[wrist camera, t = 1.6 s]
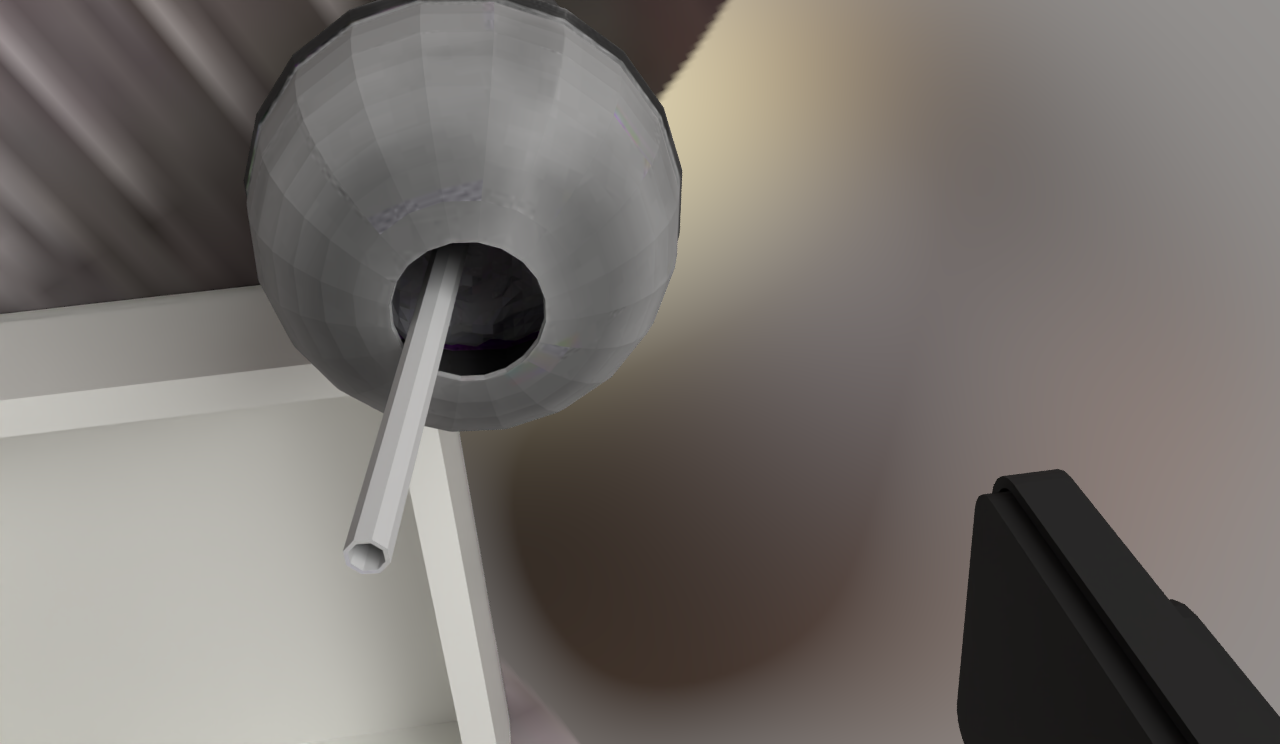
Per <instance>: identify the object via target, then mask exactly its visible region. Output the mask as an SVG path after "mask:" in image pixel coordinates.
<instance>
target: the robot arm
mask: <svg viewBox="0 0 1280 744" xmlns="http://www.w3.org/2000/svg"><path fill="white" fill-rule="evenodd" d="M957 715H958V723H959V728H960V732H961V735H962V739H963V741H964V744H1280V717H1279V716H1278V714H1277V713H1276V712H1275V711H1274V709H1273V708H1272V707H1271V706H1270V705H1269V703H1268V702H1267V701H1266V700H1265V699H1264V697H1263V696H1262V695H1261V694H1260V692H1259V691H1258V690H1257V689H1256V687H1255V686H1254V685H1253V684H1252V683H1251V681H1250V680H1249V679H1248V678H1247V676H1246V675H1245V674H1244V673H1243V671H1242V670H1241V669H1240V668H1239V667H1238V666H1237V664H1236V663H1235V662H1234V661H1233V659H1232V658H1231V657H1230V656H1229V654H1228V653H1227V652H1226V651H1225V649H1224V648H1223V647H1222V646H1221V645H1220V643H1219V642H1218V641H1217V640H1216V638H1215V637H1214V636H1213V635H1212V634H1211V632H1210V631H1209V630H1208V629H1207V627H1206V626H1205V625H1204V624H1203V623H1202V621H1201V620H1200V619H1199V618H1198V616H1196V615H1195V614H1194V613H1193V612H1192V611H1191V610H1190V609H1189V608H1188V607H1187V606H1186V605H1185V604H1182V603H1180V602H1178V601H1175V600H1173V599H1171V600H1169V599H1168V598H1167V597H1166V595H1164V593H1163V592H1162V590H1161V589H1160V588H1159V587H1158V585H1157V584H1156V583H1155V582H1154V580H1153V579H1152V578H1151V577H1150V575H1149V574H1148V573H1147V572H1146V570H1145V569H1144V568H1143V567H1142V565H1141V564H1140V563H1139V562H1138V560H1137V559H1136V558H1135V557H1134V556H1133V554H1132V553H1131V552H1130V550H1129V549H1128V548H1127V547H1126V545H1125V544H1124V543H1123V542H1122V540H1121V539H1120V538H1119V537H1118V536H1117V534H1116V533H1115V532H1114V530H1113V529H1112V528H1111V527H1110V525H1109V524H1108V523H1107V522H1106V520H1105V519H1104V518H1103V517H1102V515H1101V514H1100V513H1099V512H1098V510H1097V509H1096V508H1095V507H1094V505H1093V504H1092V503H1091V502H1090V500H1089V499H1088V498H1087V497H1086V496H1085V494H1084V493H1083V492H1082V490H1081V489H1080V488H1079V487H1078V485H1077V484H1076V483H1075V482H1074V480H1073V479H1072V478H1071V477H1070V476H1069V475H1068V474H1067V473H1066V472H1065V471H1062V470H1059V469H1055V470H1048V471H1039V472H1031V473H1024V474H1016V475H1008V476H1002V477H1000V478H998V479H997V481H996V482H995V484H994V486H993V492H992V494H983V495H981V496H979V497H978V499H977V501H976V506H975V515H974V524H973V536H972V546H971V558H970V568H969V579H968V590H967V601H966V612H965V623H964V633H963V644H962V656H961V666H960V677H959V688H958V699H957Z"/></svg>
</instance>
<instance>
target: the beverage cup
mask: <svg viewBox="0 0 1280 744" xmlns="http://www.w3.org/2000/svg"><path fill="white" fill-rule="evenodd" d="M244 184H245V190H246V197H247V210H248V217H249V224H250V230H251V236H252V243H253V249H254V255H255V262H256V268H257V274H258V280H259V283H260V285H261V287H262V289H263V290H264V292H265V294H266V296H267V298H268V300H269V302H270V304H271V305H272V307H273V309H274V311H275V313H276V315H277V317H278V319H279V320H280V322H281V324H282V326H283V328H284V330H285V332H286V334H287V335H288V337H289V339H290V340H291V342H292V344H293V345H294V347H295V348H296V349H297V350H298V351H299V352H300V353H301V354H302V355H303V356H304V357H305V358H306V359H307V360H308V361H309V362H310V363H311V364H312V365H314V366H315V367H316V368H317V369H318V370H319V371H320V372H321V373H322V374H323V375H324V376H325V377H326V378H327V379H328V380H329V381H330V382H331V383H332V384H333V385H334V386H335V387H336V388H337V389H339V390H340V391H342V392H344V393H346V394H348V395H350V396H351V397H353V398H355V399H357V400H359V401H361V402H363V403H365V404H367V405H369V406H370V407H372V408H374V409H376V410H378V411H380V412H382V413H384V414H383V418H382V421H381V424H380V428H379V431H378V435H377V438H376V441H375V445H374V448H373V451H372V455H371V458H370V461H369V465H368V468H367V472H366V475H365V478H364V482H363V485H362V488H361V492H360V495H359V498H358V502H357V505H356V509H355V512H354V515H353V519H352V522H351V525H350V529H349V532H348V536H347V539H346V542H345V546H344V549H343V554H344V558H345V562H346V565H347V566H349V567H350V568H352V569H354V570H356V571H357V572H359V573H361V574H373V573H381V572H382V571H383V570H384V569H385V568H386V567H387V566H388V565H389V564H390V563H391V559H392V555H393V551H394V547H395V543H396V539H397V534H398V530H399V526H400V522H401V518H402V514H403V510H404V506H405V502H406V498H407V494H408V490H409V486H410V482H411V478H412V474H413V470H414V466H415V462H416V458H417V454H418V449H419V445H420V441H421V437H422V433H423V429H424V426H426V427H431V428H435V429H440V430H445V431H449V432H457V431H476V430H495V429H496V430H497V429H508V428H511V427H513V426H517V425H520V424H523V423H526V422H529V421H532V420H535V419H538V418H541V417H544V416H547V415H551V414H554V413H557V412H559V411H561V410H563V409H564V408H566V407H567V406H569V405H570V404H572V403H573V402H575V401H576V400H578V399H579V398H581V397H582V396H584V395H585V394H587V393H588V392H590V391H591V390H593V389H594V388H596V387H597V386H599V385H600V384H602V383H603V382H605V381H606V380H608V379H609V378H610V377H612V375H613V374H614V373H615V372H616V371H617V369H618V368H619V367H620V365H621V364H622V363H623V362H624V361H625V359H626V358H627V357H628V356H629V355H630V353H631V352H632V351H633V350H634V348H635V347H636V346H637V345H638V343H639V342H640V341H641V340H642V339H643V337H644V336H645V335H646V334H647V332H648V330H649V329H650V327H651V326H652V324H653V322H654V320H655V317H656V314H657V312H658V310H659V307H660V304H661V302H662V299H663V296H664V294H665V292H666V289H667V286H668V284H669V281H670V279H671V276H672V273H673V271H674V268H675V263H676V257H677V241H678V238H679V233H680V211H681V187H682V168H681V165H680V161H679V158H678V154H677V151H676V148H675V144H674V141H673V138H672V134H671V131H670V127H669V124H668V121H667V117H666V114H665V111H664V108H663V106H662V105H661V103H660V102H659V100H658V99H657V98H656V96H655V95H654V93H653V92H652V91H651V89H650V88H649V86H648V85H647V83H646V82H645V81H644V79H643V78H642V76H641V75H640V74H639V72H638V71H637V69H636V68H635V67H634V65H633V64H632V62H631V61H630V59H629V58H628V57H627V55H626V54H625V52H624V51H622V50H621V49H620V48H618V47H617V46H616V45H614V44H613V43H612V42H610V41H609V40H607V39H606V38H605V37H603V36H602V35H601V34H599V33H598V32H597V31H595V30H594V29H592V28H591V27H590V26H588V25H587V24H586V23H584V22H583V21H582V20H580V19H579V18H578V17H576V16H575V15H573V14H572V13H571V12H569V11H568V10H567V9H564V8H561V7H559V5H558V4H557V3H556V2H555V0H377V1H374V2H371V3H369V4H366V5H363V6H360V7H357V8H354V9H351V10H349V11H347V12H346V13H345V14H344V15H342V16H341V17H340V18H339V19H337V20H336V21H335V22H334V23H332V24H331V25H330V26H329V27H327V28H326V29H325V30H324V31H322V32H321V33H320V34H319V35H317V36H316V37H315V38H313V39H312V40H311V41H310V42H308V43H307V44H306V45H305V46H303V47H302V48H301V49H300V50H298V51H297V52H296V53H295V54H293V55H292V57H291V59H290V60H289V62H288V64H287V65H286V67H285V69H284V70H283V72H282V73H281V75H280V77H279V78H278V80H277V82H276V83H275V85H274V87H273V88H272V90H271V91H270V93H269V95H268V96H267V98H266V100H265V101H264V103H263V105H262V106H261V108H260V110H259V111H258V113H257V115H256V120H255V125H254V131H253V136H252V141H251V146H250V151H249V156H248V162H247V167H246V172H245V177H244Z"/></svg>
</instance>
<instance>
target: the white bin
mask: <svg viewBox="0 0 1280 744" xmlns="http://www.w3.org/2000/svg"><path fill="white" fill-rule="evenodd" d="M383 414H384V413H382V412H380V411H378V410H376V409H374V408H372V407H370V406H369V405H367V404H365V403H363V402H361V401H359V400H357V399H355V398H353V397H351V396H350V395H348V394H346V393H344V392H342V391H340V390H339V389H337V388H336V387H335V386H334V385H333V384H332V383H331V382H330V381H329V380H328V379H327V378H326V377H325V376H324V375H323V374H322V373H321V372H320V371H319V370H318V369H317V368H316V367H315V366H314V365H312V364H311V363H310V362H309V361H308V360H307V359H306V358H305V357H304V356H303V355H302V354H301V353H300V352H299V351H298V350H297V349H296V348H295V347H294V345H293V344H292V342H291V340H290V339H289V337H288V335H287V334H286V332H285V330H284V328H283V326H282V324H281V322H280V320H279V319H278V317H277V315H276V313H275V311H274V309H273V307H272V305H271V304H270V302H269V300H268V298H267V296H266V294H265V292H264V290H263V289H262V287H261V285H255V286H246V287H237V288H228V289H219V290H210V291H201V292H192V293H183V294H175V295H166V296H157V297H148V298H139V299H130V300H121V301H112V302H104V303H95V304H86V305H77V306H68V307H59V308H50V309H41V310H32V311H24V312H15V313H6V314H0V744H511V737H510V719H509V713H508V707H507V701H506V696H505V690H504V684H503V679H502V673H501V667H500V661H499V656H498V650H497V644H496V639H495V633H494V627H493V622H492V616H491V610H490V604H489V599H488V594H487V588H486V581H485V576H484V570H483V564H482V559H481V553H480V547H479V542H478V536H477V530H476V524H475V518H474V513H473V507H472V501H471V496H470V490H469V484H468V478H467V473H466V467H465V461H464V456H463V450H462V444H461V438H460V433H459V431H457V432H449V431H445V430H440V429H435V428H431V427H426V426H424V429H423V433H422V437H421V441H420V445H419V449H418V454H417V458H416V462H415V466H414V470H413V474H412V478H411V482H410V486H409V490H408V494H407V498H406V502H405V506H404V510H403V514H402V518H401V522H400V526H399V530H398V534H397V539H396V543H395V547H394V551H393V555H392V559H391V563H390V564H389V565H388V566H387V567H386V568H385V569H384V570H383V571H382V572H381V573H373V574H361V573H359V572H357V571H356V570H354V569H352V568H350V567H349V566H347V565H346V562H345V558H344V554H343V549H344V546H345V542H346V539H347V536H348V532H349V529H350V525H351V522H352V519H353V515H354V512H355V509H356V505H357V502H358V498H359V495H360V492H361V488H362V485H363V482H364V478H365V475H366V472H367V468H368V465H369V461H370V458H371V455H372V451H373V448H374V445H375V441H376V438H377V435H378V431H379V428H380V424H381V421H382V418H383Z"/></svg>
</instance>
